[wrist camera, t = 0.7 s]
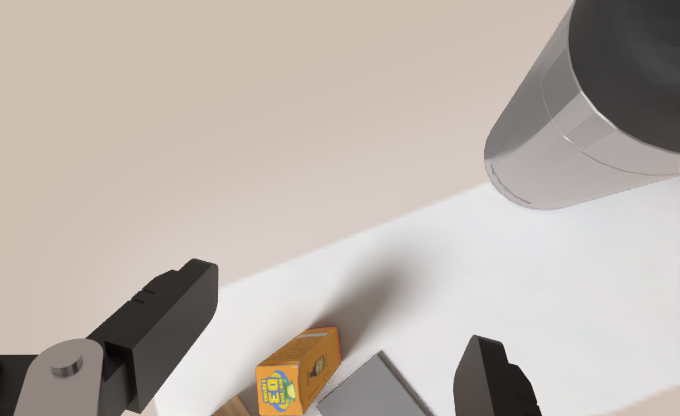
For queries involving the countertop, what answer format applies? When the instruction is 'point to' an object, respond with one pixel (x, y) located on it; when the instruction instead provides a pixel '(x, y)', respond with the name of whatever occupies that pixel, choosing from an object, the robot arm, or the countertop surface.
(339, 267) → the countertop surface
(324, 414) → the coaster
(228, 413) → the box
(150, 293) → the robot arm
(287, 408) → the supplement box
